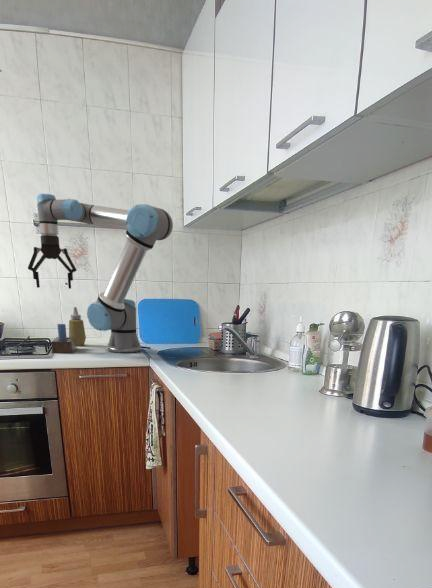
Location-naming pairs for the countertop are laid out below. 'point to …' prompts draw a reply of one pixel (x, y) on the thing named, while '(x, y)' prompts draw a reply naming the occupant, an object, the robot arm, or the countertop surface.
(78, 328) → the squeeze bottle
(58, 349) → the peg stand
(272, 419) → the countertop surface
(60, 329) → the peg
